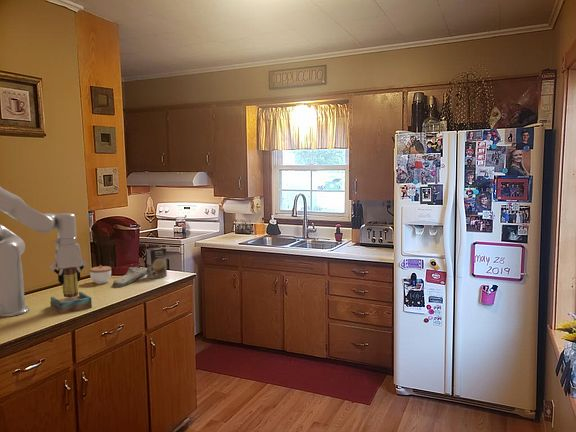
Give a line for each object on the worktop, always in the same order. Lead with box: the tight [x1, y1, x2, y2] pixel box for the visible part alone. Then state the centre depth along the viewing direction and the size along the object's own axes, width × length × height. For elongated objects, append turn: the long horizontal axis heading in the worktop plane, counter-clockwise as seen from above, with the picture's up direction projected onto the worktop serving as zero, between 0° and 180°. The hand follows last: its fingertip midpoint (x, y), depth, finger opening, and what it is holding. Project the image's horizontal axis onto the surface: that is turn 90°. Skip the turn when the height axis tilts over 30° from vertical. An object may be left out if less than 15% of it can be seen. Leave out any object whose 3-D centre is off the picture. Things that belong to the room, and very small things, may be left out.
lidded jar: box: [89, 264, 112, 285], centre depth 248 cm, size 11×11×9 cm
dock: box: [50, 291, 93, 315], centre depth 205 cm, size 13×14×4 cm
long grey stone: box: [112, 266, 147, 288], centre depth 256 cm, size 35×5×10 cm
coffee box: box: [146, 246, 168, 279], centre depth 260 cm, size 9×6×16 cm
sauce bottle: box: [61, 267, 79, 298], centre depth 204 cm, size 7×6×20 cm
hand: (69, 281), depth 204 cm, fingers closed on sauce bottle, 6 cm apart
